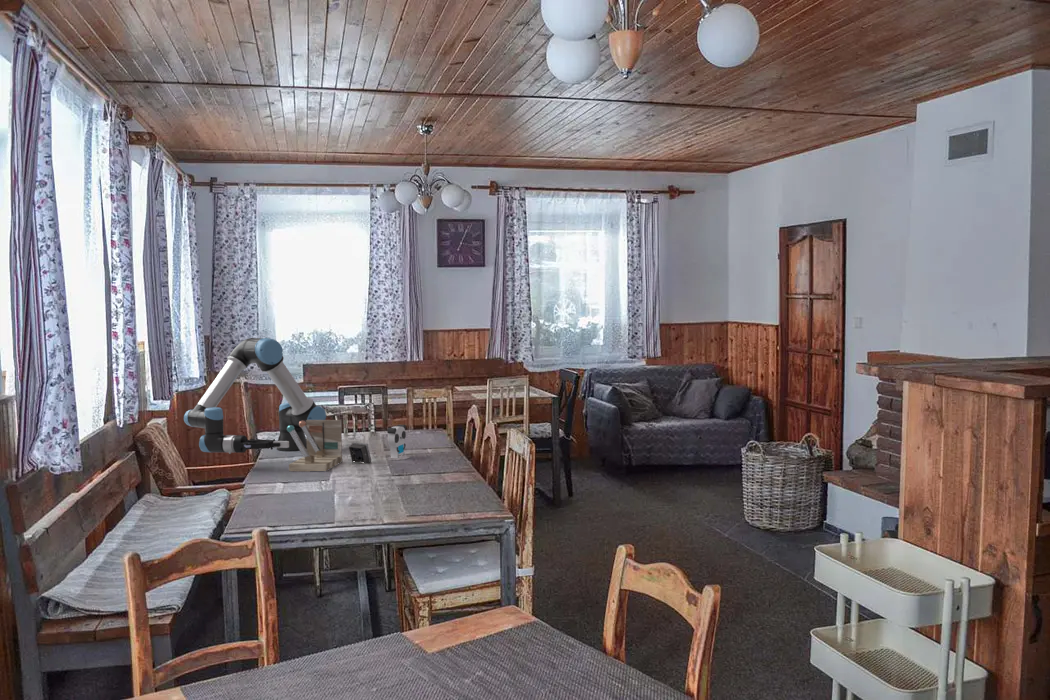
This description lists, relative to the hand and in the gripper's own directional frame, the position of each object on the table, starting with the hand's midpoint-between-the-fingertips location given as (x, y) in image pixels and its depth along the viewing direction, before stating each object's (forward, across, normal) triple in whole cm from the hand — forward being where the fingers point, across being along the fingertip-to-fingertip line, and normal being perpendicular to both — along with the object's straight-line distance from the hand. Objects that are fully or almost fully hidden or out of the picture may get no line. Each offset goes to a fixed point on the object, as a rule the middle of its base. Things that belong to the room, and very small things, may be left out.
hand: (288, 444), depth 356 cm
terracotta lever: (+9, -14, -8) cm, 19 cm away
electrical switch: (+26, -18, -11) cm, 34 cm away
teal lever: (+9, 0, -8) cm, 12 cm away
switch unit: (+9, -8, -11) cm, 17 cm away
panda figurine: (+40, -29, -11) cm, 51 cm away
